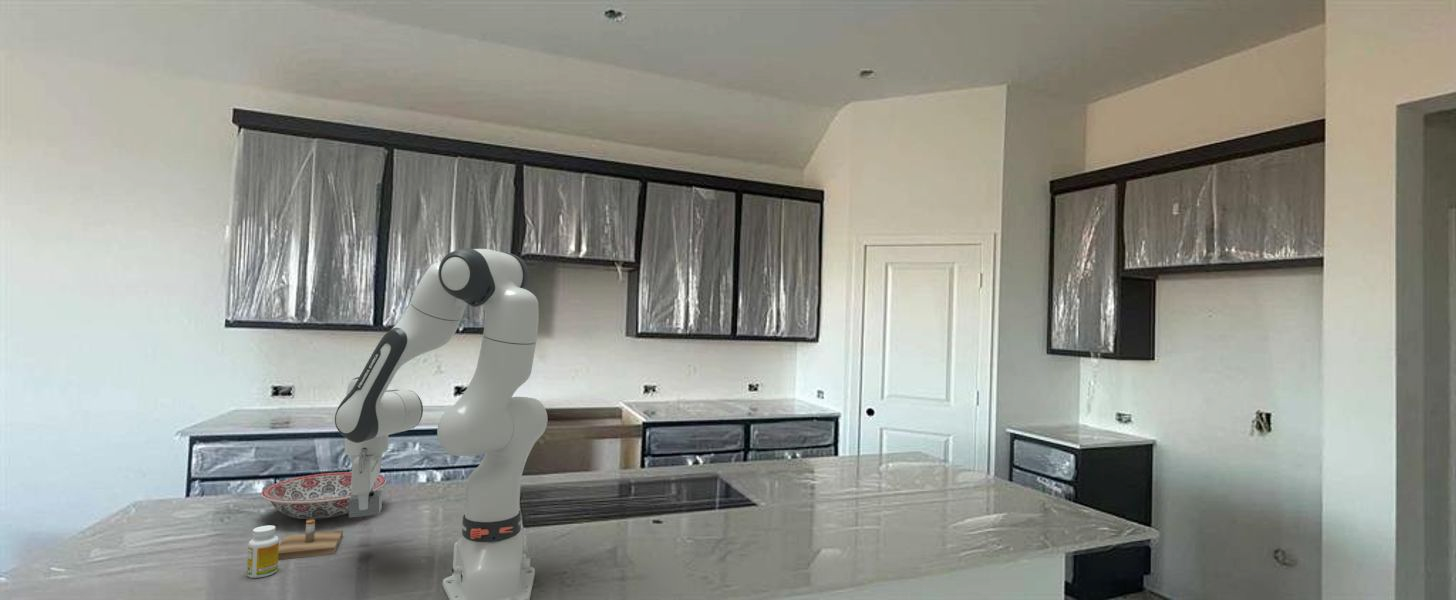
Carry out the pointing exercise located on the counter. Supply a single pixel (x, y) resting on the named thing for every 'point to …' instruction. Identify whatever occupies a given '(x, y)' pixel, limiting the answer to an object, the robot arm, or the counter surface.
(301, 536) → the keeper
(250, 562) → the supplement bottle
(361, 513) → the grey square block
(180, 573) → the counter surface
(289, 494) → the ceramic bowl
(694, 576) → the counter surface
